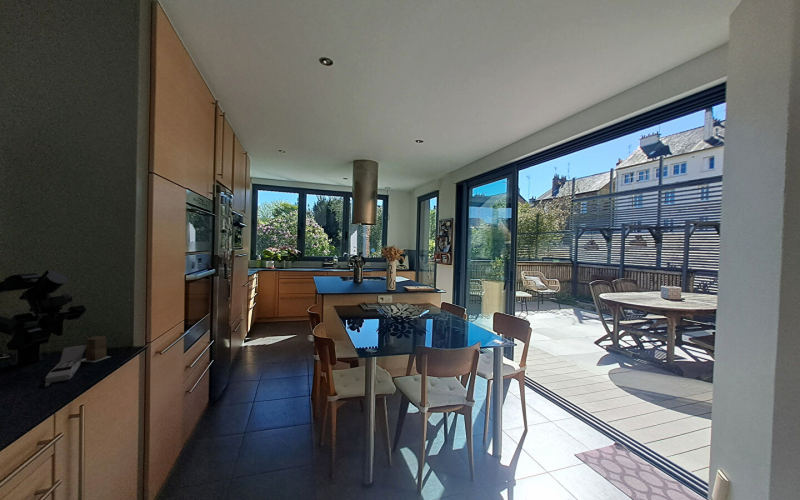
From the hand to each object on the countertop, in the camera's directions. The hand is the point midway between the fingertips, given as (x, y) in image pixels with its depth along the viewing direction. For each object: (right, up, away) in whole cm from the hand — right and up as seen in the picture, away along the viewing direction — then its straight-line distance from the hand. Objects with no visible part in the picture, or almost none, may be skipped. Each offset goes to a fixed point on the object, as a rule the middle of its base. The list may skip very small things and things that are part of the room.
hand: (60, 335), depth 109 cm
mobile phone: (+6, -12, -3) cm, 14 cm away
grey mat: (+4, -12, +8) cm, 15 cm away
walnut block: (+5, -11, +8) cm, 15 cm away
